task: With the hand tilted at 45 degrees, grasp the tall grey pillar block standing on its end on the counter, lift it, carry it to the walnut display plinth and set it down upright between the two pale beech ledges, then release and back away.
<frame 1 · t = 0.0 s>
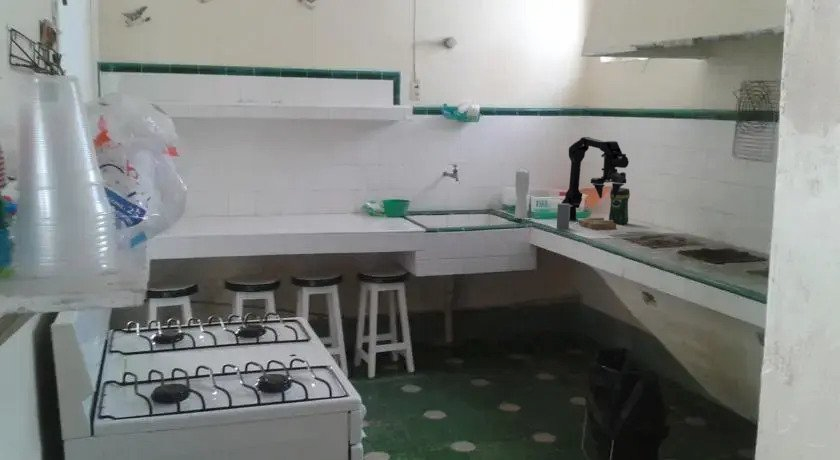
hand: (607, 197, 381), 15 cm above the worktop, tool pointing down, fingers open, 9 cm apart
coffee jar: (618, 223, 397), on the worktop
tall grey pillar block: (562, 228, 376), on the worktop
display plinth: (597, 227, 382), on the worktop
white waisted cylinder: (521, 220, 406), on the worktop
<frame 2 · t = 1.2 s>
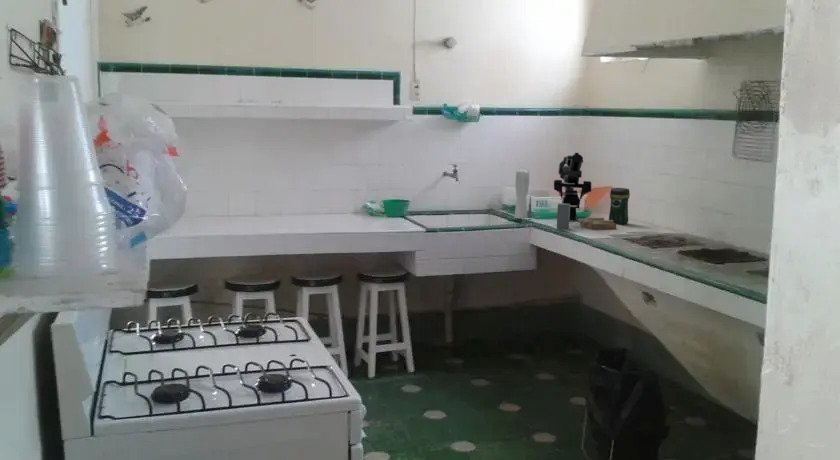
hand: (571, 198, 386), 13 cm above the worktop, tool tilted 45°, fingers open, 9 cm apart
nothing on the worktop moved.
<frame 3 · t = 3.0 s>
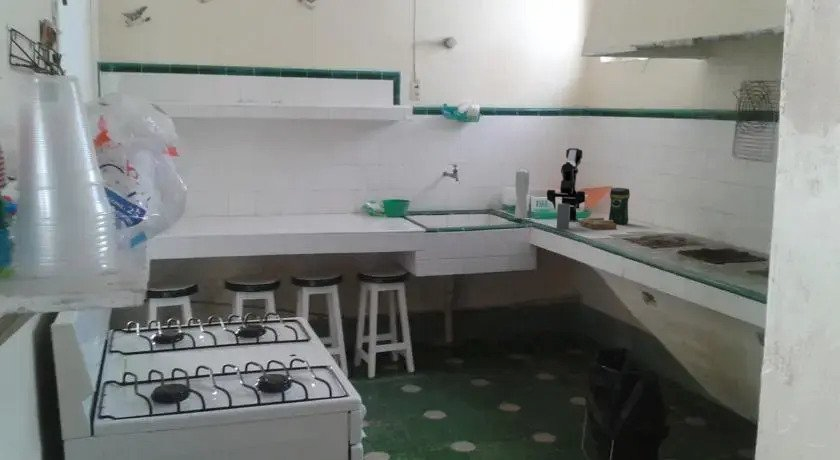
hand: (564, 209, 377), 9 cm above the worktop, tool tilted 45°, fingers open, 9 cm apart
nothing on the worktop moved.
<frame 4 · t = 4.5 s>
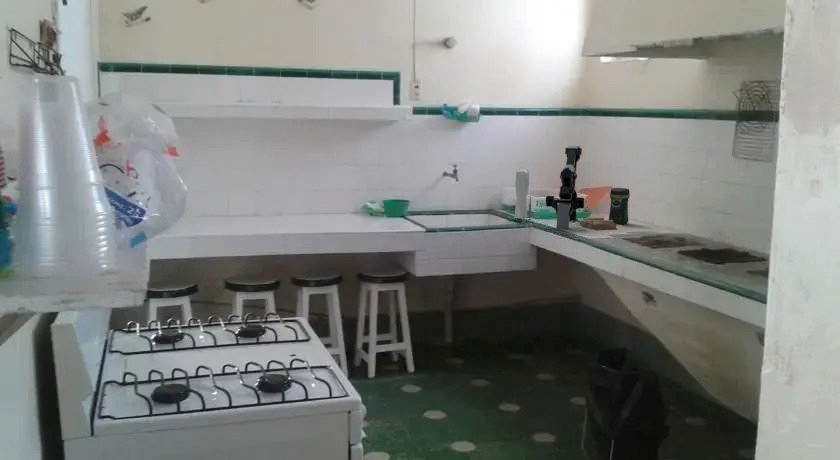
hand: (563, 215, 374), 7 cm above the worktop, tool tilted 45°, fingers closed on tall grey pillar block, 5 cm apart
tall grey pillar block: (562, 228, 376), on the worktop, touching gripper
everything else where it was.
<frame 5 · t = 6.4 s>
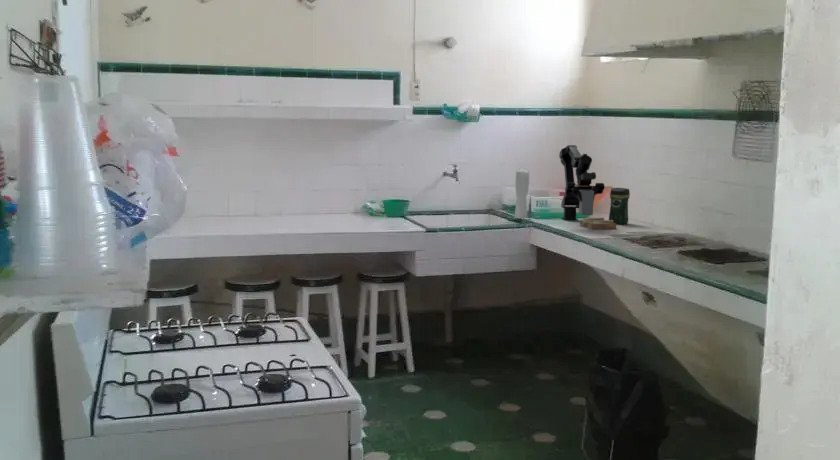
hand: (587, 201, 375), 13 cm above the worktop, tool tilted 45°, fingers closed on tall grey pillar block, 5 cm apart
tall grey pillar block: (585, 214, 377), point 7 cm above the worktop, touching gripper
everything else where it was.
when the fingers open (10 cm above the worktop, at t = 8.2 s): tall grey pillar block stays where it is, resting on display plinth.
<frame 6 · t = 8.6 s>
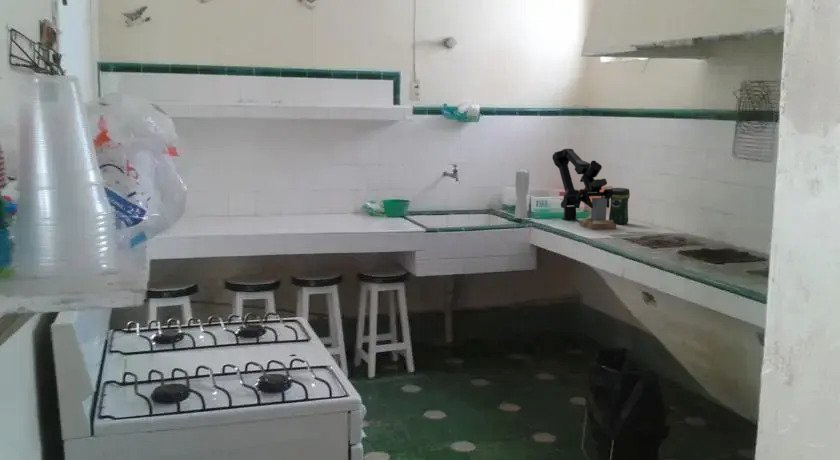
hand: (600, 207, 379), 10 cm above the worktop, tool tilted 45°, fingers open, 9 cm apart
tall grey pillar block: (598, 222, 381), point 2 cm above the worktop, touching display plinth
everything else where it was.
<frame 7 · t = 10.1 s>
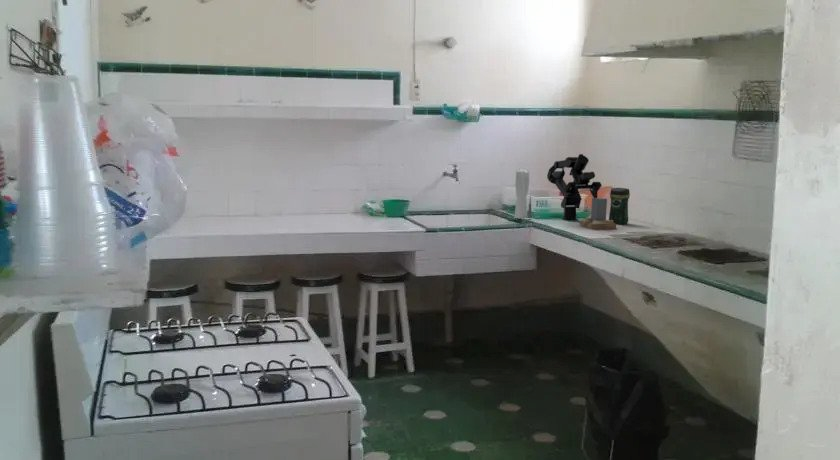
hand: (588, 199, 388), 13 cm above the worktop, tool tilted 45°, fingers open, 9 cm apart
nothing on the worktop moved.
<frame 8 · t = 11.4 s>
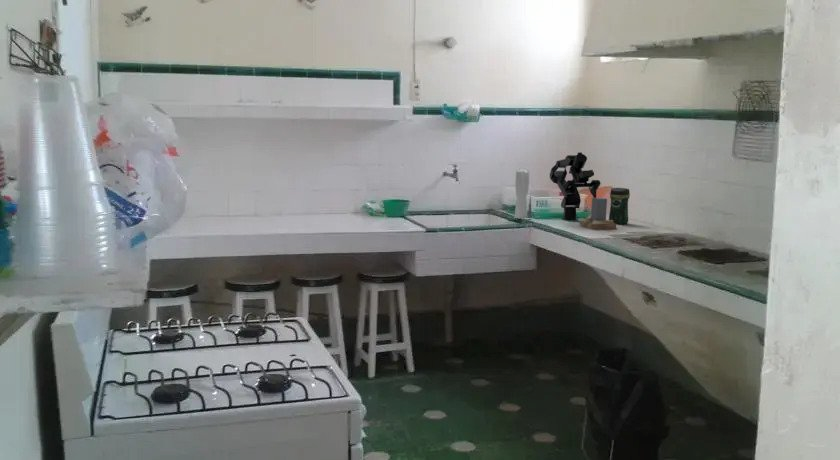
hand: (587, 198, 388), 14 cm above the worktop, tool tilted 45°, fingers open, 9 cm apart
nothing on the worktop moved.
at the end: tall grey pillar block inside the target area on the display plinth (0.0 cm from its centre), point 2.5 cm above the display plinth's base; tall grey pillar block tilted 0°; the gripper is holding nothing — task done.
